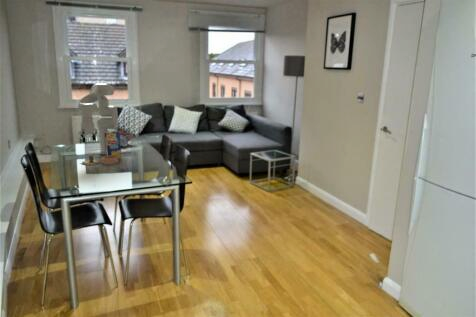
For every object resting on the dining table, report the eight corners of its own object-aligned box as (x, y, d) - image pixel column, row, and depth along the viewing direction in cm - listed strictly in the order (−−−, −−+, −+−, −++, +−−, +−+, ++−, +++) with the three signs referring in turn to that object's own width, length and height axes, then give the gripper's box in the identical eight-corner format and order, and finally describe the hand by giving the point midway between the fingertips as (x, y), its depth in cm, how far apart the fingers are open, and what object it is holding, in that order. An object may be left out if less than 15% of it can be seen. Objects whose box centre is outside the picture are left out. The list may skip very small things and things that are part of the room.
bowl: (110, 160, 309) (109, 154, 307) (120, 162, 303) (120, 156, 302) (98, 163, 298) (98, 157, 297) (109, 165, 293) (109, 159, 292)
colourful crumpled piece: (104, 144, 355) (112, 128, 352) (108, 139, 376) (116, 124, 373) (123, 154, 360) (132, 138, 358) (126, 148, 381) (134, 133, 378)
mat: (92, 160, 308) (92, 160, 308) (103, 162, 302) (103, 162, 302) (79, 164, 297) (79, 163, 297) (90, 166, 291) (90, 165, 291)
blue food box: (106, 158, 317) (104, 132, 312) (119, 156, 323) (117, 131, 318) (108, 159, 312) (106, 133, 307) (121, 158, 317) (119, 132, 312)
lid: (92, 160, 308) (91, 153, 307) (104, 162, 302) (103, 154, 301) (78, 163, 296) (77, 156, 295) (90, 165, 290) (89, 158, 289)
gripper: (92, 118, 300) (94, 139, 304) (74, 120, 285) (76, 142, 289) (99, 118, 297) (101, 140, 301) (81, 121, 282) (83, 143, 286)
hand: (89, 141), depth 295 cm, fingers open, 9 cm apart
